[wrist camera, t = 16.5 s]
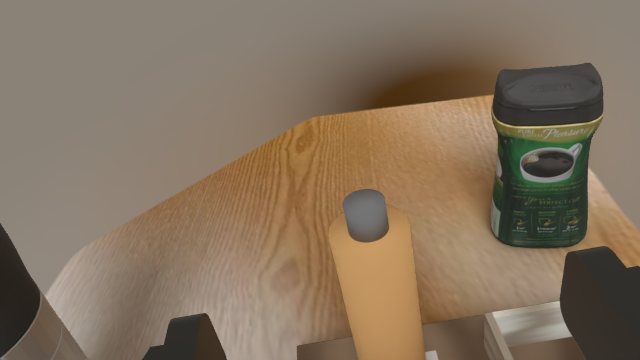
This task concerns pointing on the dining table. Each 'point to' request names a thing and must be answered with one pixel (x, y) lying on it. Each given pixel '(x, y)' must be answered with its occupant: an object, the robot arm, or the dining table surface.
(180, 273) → the dining table surface
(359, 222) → the tall tan cylinder
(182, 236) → the dining table surface
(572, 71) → the coffee jar
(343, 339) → the board
